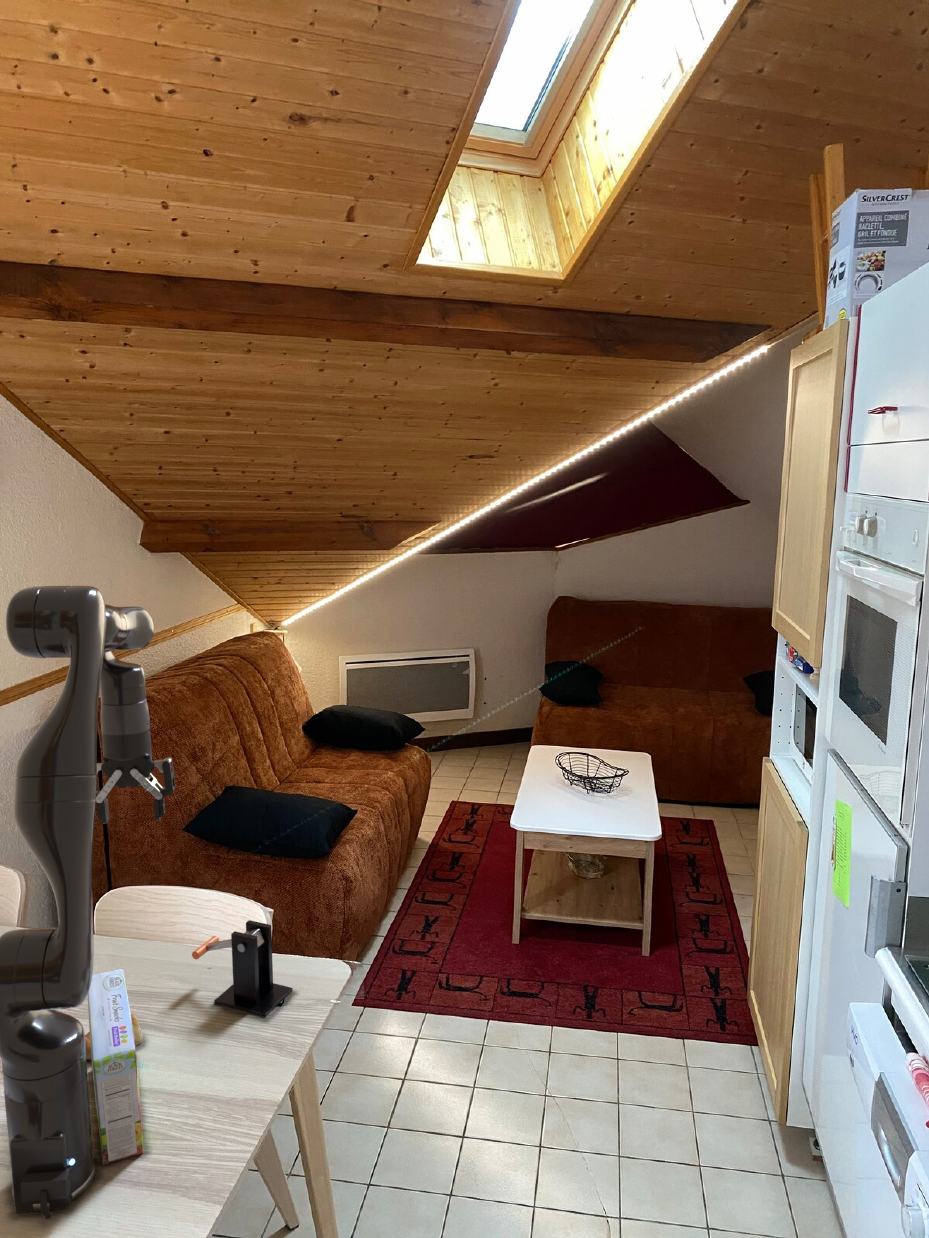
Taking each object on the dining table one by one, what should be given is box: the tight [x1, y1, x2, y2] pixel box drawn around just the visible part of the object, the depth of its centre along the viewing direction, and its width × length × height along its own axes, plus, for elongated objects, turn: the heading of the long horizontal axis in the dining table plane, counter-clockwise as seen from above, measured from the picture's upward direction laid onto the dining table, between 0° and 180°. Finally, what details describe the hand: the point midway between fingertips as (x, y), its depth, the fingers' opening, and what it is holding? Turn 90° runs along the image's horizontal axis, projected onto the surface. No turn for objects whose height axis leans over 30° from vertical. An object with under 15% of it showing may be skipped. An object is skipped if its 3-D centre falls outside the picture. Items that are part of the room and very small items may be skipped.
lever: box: [191, 929, 264, 960], centre depth 151 cm, size 12×6×2 cm, turn 68°
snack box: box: [87, 968, 144, 1166], centre depth 124 cm, size 21×6×15 cm, turn 25°
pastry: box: [85, 1012, 144, 1061], centre depth 138 cm, size 9×7×4 cm
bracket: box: [213, 919, 294, 1018], centre depth 150 cm, size 10×8×13 cm
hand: (132, 820), depth 152 cm, fingers open, 8 cm apart
